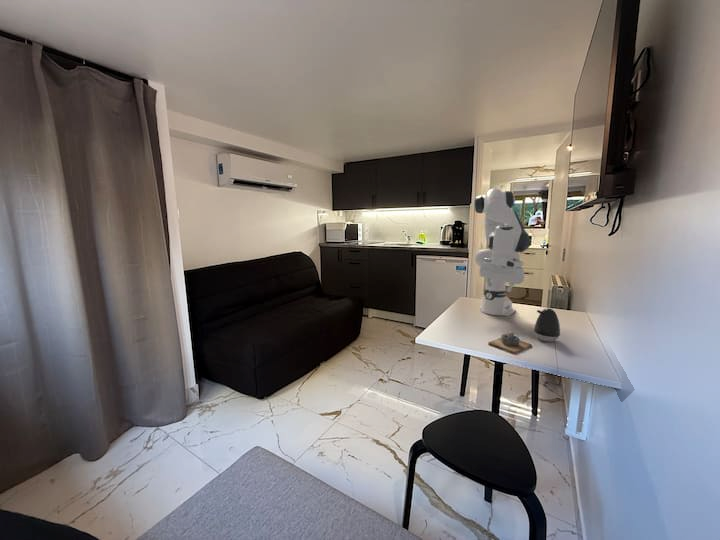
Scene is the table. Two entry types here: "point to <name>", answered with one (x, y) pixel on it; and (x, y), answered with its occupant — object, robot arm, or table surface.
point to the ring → (510, 340)
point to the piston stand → (511, 349)
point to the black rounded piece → (547, 326)
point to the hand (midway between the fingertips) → (499, 289)
